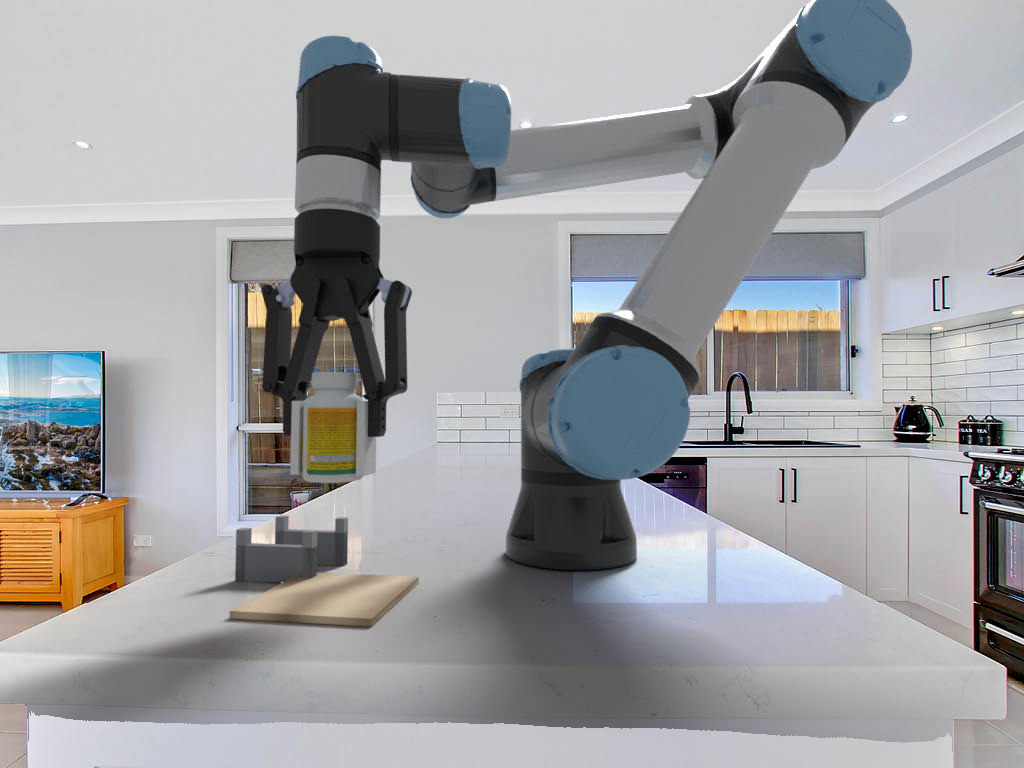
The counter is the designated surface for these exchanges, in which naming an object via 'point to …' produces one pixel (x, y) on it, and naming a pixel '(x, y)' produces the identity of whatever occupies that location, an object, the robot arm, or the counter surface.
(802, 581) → the counter surface
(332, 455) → the supplement bottle
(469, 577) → the counter surface
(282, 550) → the holder
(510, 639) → the counter surface
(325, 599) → the square wooden board
